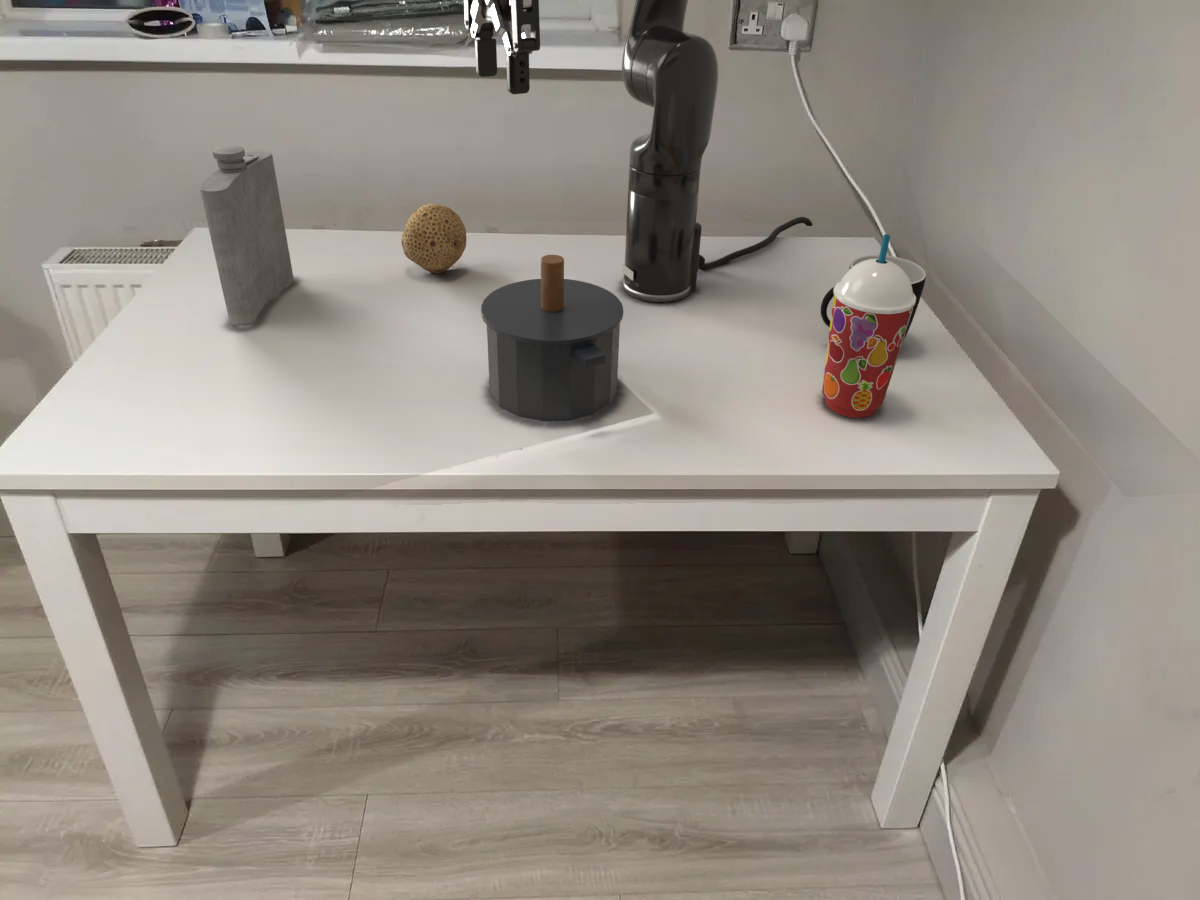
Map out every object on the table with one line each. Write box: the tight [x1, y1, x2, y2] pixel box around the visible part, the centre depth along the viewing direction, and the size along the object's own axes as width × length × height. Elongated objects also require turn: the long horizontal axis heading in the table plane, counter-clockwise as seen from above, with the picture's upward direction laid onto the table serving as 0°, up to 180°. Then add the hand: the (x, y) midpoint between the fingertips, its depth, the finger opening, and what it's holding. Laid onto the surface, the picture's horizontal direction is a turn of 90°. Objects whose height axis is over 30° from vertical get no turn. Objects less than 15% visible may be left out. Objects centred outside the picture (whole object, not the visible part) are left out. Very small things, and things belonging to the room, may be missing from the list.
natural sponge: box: [400, 203, 468, 274], centre depth 126 cm, size 9×9×10 cm
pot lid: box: [480, 254, 624, 345], centre depth 96 cm, size 15×15×7 cm
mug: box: [820, 254, 927, 341], centre depth 112 cm, size 12×9×10 cm
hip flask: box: [199, 144, 295, 327], centre depth 115 cm, size 16×4×20 cm, turn 175°
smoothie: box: [821, 233, 916, 419], centre depth 97 cm, size 8×8×20 cm
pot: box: [486, 323, 621, 422], centre depth 101 cm, size 14×20×10 cm
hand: (502, 84), depth 98 cm, fingers open, 8 cm apart
